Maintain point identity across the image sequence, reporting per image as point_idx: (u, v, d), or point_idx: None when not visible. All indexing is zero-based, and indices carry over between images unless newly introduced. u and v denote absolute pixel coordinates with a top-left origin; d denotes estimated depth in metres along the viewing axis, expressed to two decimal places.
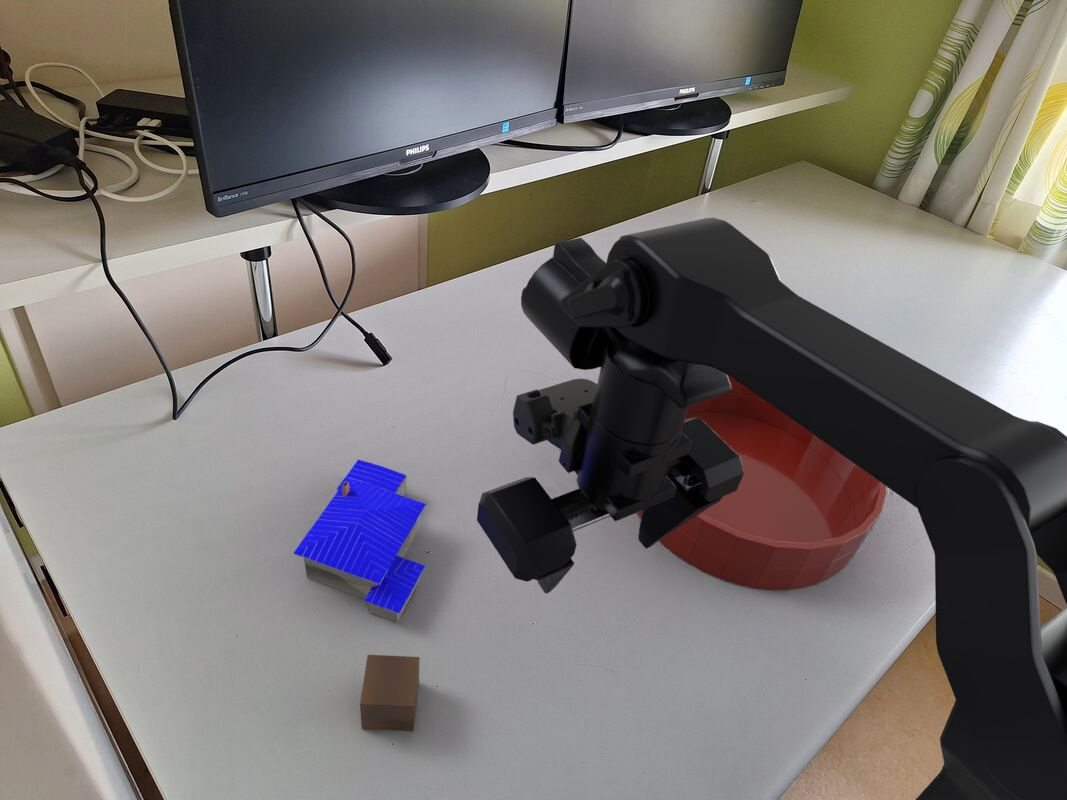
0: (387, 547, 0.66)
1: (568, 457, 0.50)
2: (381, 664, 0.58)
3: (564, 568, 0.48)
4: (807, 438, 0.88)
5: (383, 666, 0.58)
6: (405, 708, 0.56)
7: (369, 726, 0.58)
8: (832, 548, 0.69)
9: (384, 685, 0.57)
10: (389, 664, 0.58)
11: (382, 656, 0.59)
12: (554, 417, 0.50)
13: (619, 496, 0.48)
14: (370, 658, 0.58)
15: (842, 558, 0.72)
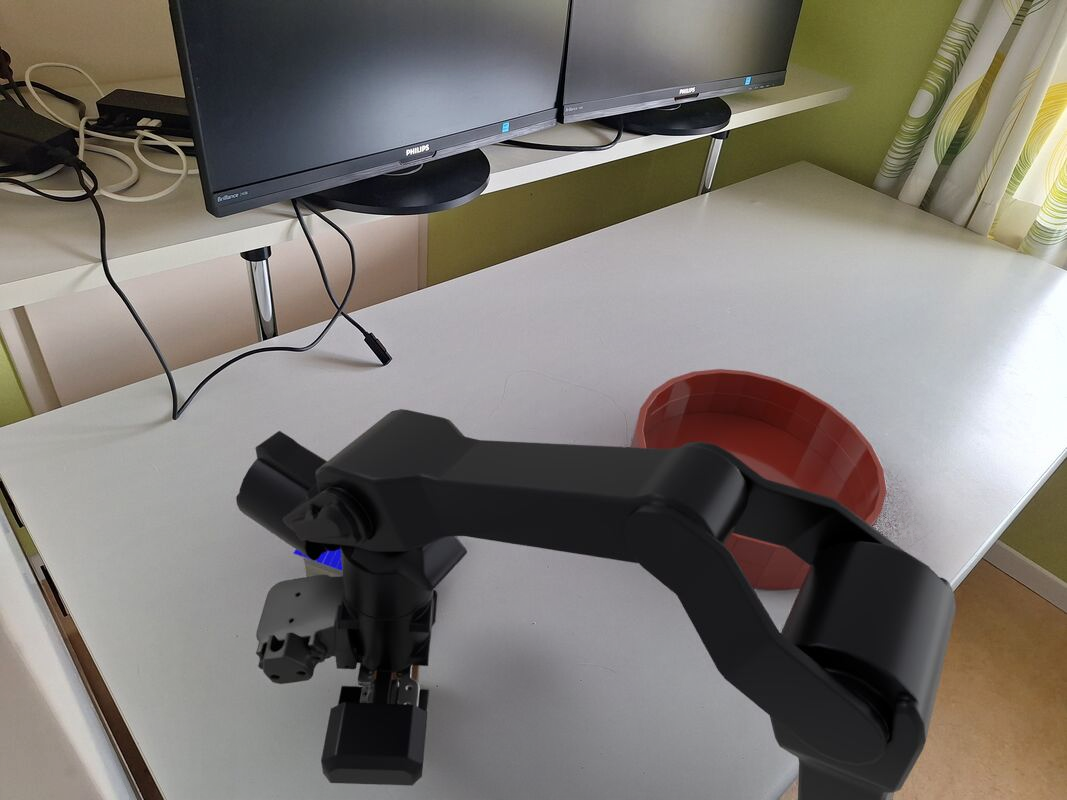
0: None
1: (349, 659, 0.50)
2: None
3: (427, 700, 0.52)
4: (807, 438, 0.88)
5: None
6: None
7: None
8: None
9: None
10: None
11: None
12: (314, 643, 0.48)
13: (418, 647, 0.51)
14: None
15: None
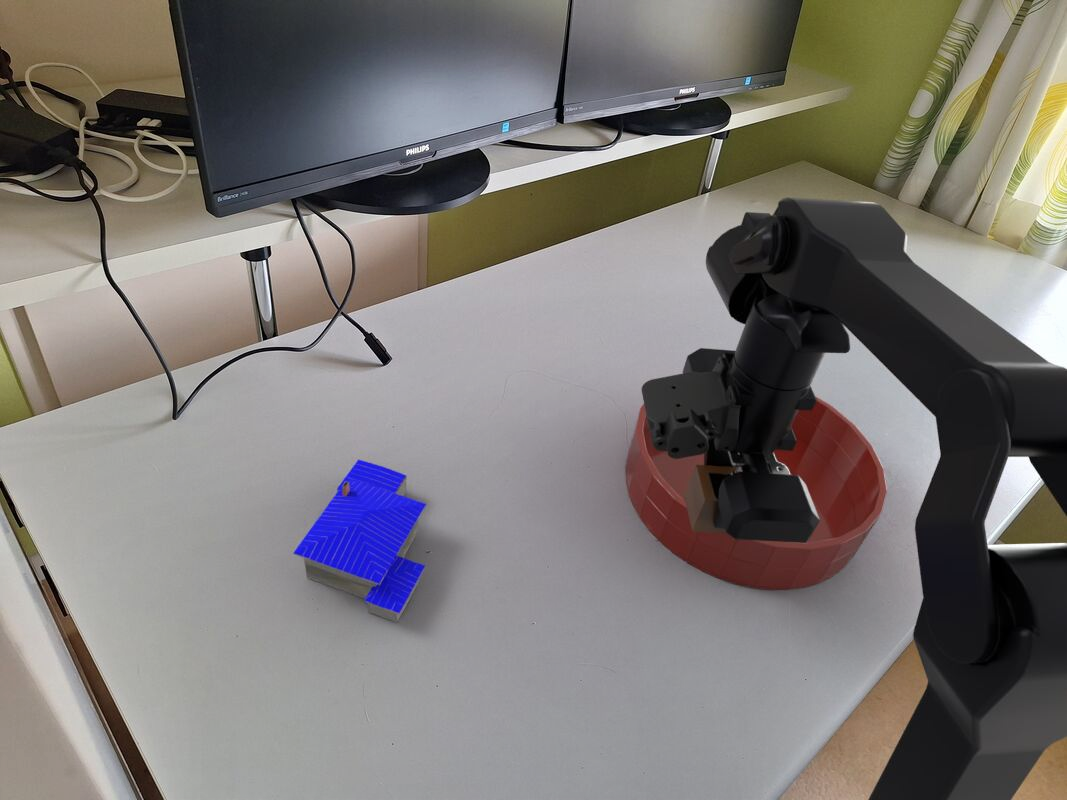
0: (387, 547, 0.66)
1: (733, 439, 0.55)
2: (710, 471, 0.64)
3: None
4: (807, 438, 0.88)
5: None
6: None
7: (700, 528, 0.63)
8: (832, 548, 0.69)
9: None
10: (717, 472, 0.64)
11: (708, 466, 0.64)
12: (711, 419, 0.54)
13: (787, 431, 0.56)
14: (699, 467, 0.64)
15: (842, 558, 0.72)
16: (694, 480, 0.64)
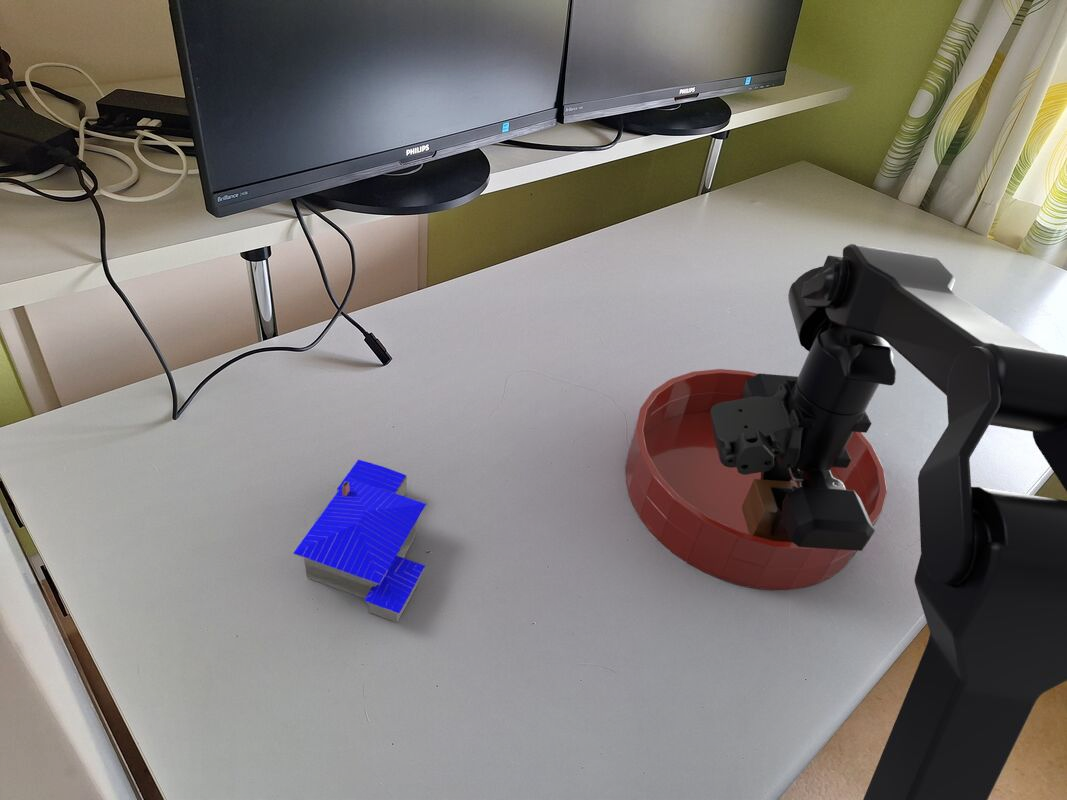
0: (387, 547, 0.66)
1: (794, 457, 0.62)
2: (768, 485, 0.70)
3: None
4: None
5: (770, 487, 0.70)
6: None
7: (759, 536, 0.70)
8: None
9: None
10: (774, 485, 0.70)
11: (766, 480, 0.71)
12: (777, 440, 0.60)
13: (843, 451, 0.63)
14: (757, 481, 0.70)
15: (842, 558, 0.72)
16: (753, 493, 0.70)
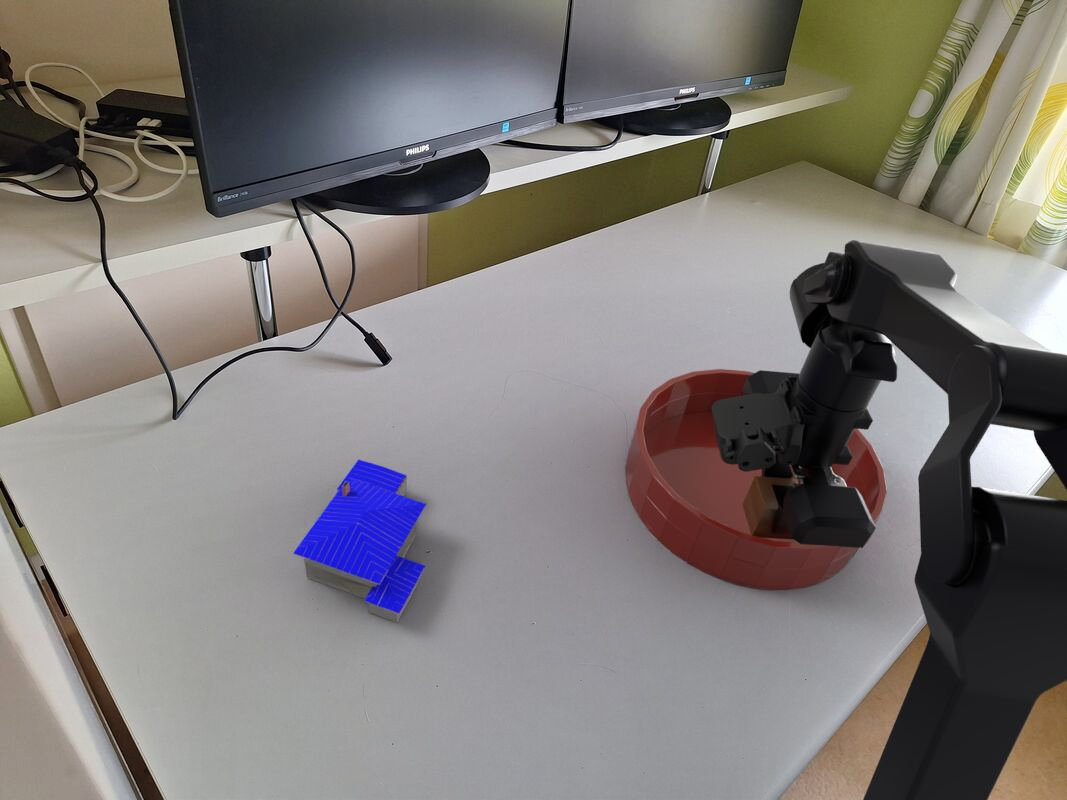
0: (387, 547, 0.66)
1: (796, 454, 0.62)
2: (769, 482, 0.70)
3: None
4: None
5: (771, 484, 0.70)
6: None
7: (760, 534, 0.70)
8: (832, 548, 0.69)
9: None
10: (775, 483, 0.70)
11: (767, 477, 0.70)
12: (778, 436, 0.60)
13: (844, 448, 0.63)
14: (758, 478, 0.70)
15: (842, 558, 0.72)
16: (754, 490, 0.70)
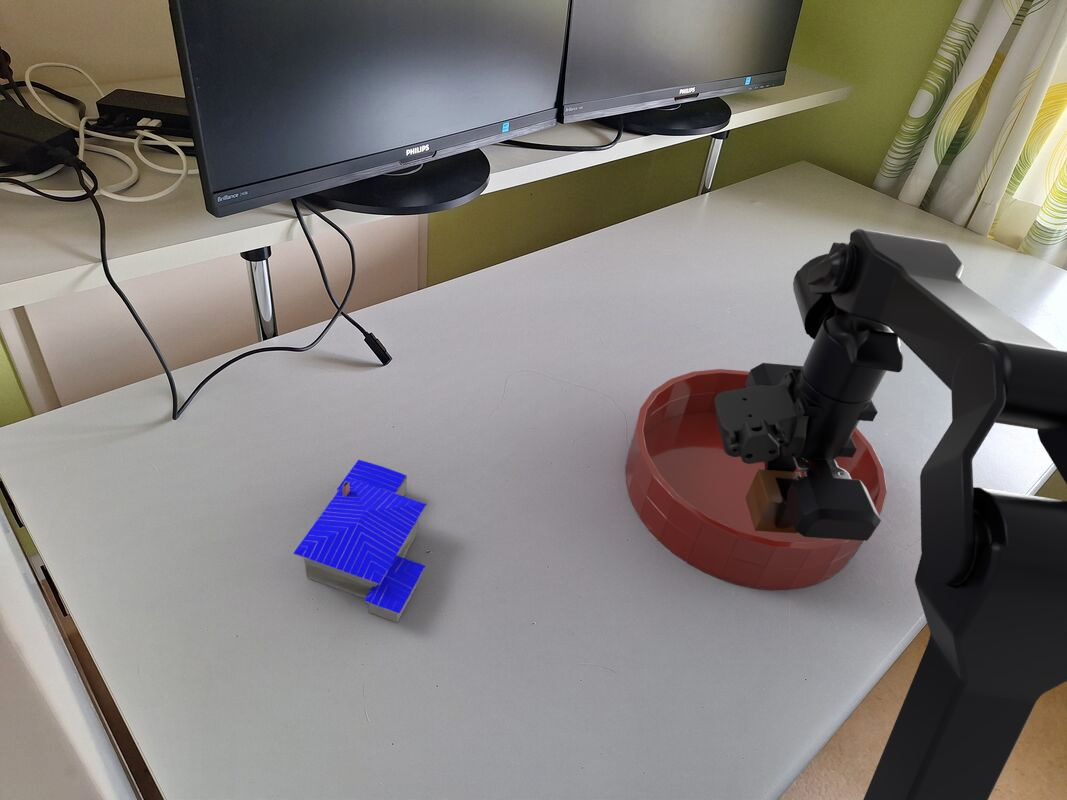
0: (387, 547, 0.66)
1: (800, 446, 0.61)
2: (772, 476, 0.69)
3: None
4: None
5: (774, 477, 0.69)
6: None
7: (763, 527, 0.69)
8: (832, 548, 0.69)
9: None
10: (778, 476, 0.69)
11: (770, 470, 0.70)
12: (782, 428, 0.60)
13: (848, 440, 0.62)
14: (761, 472, 0.70)
15: (842, 558, 0.72)
16: (757, 483, 0.70)
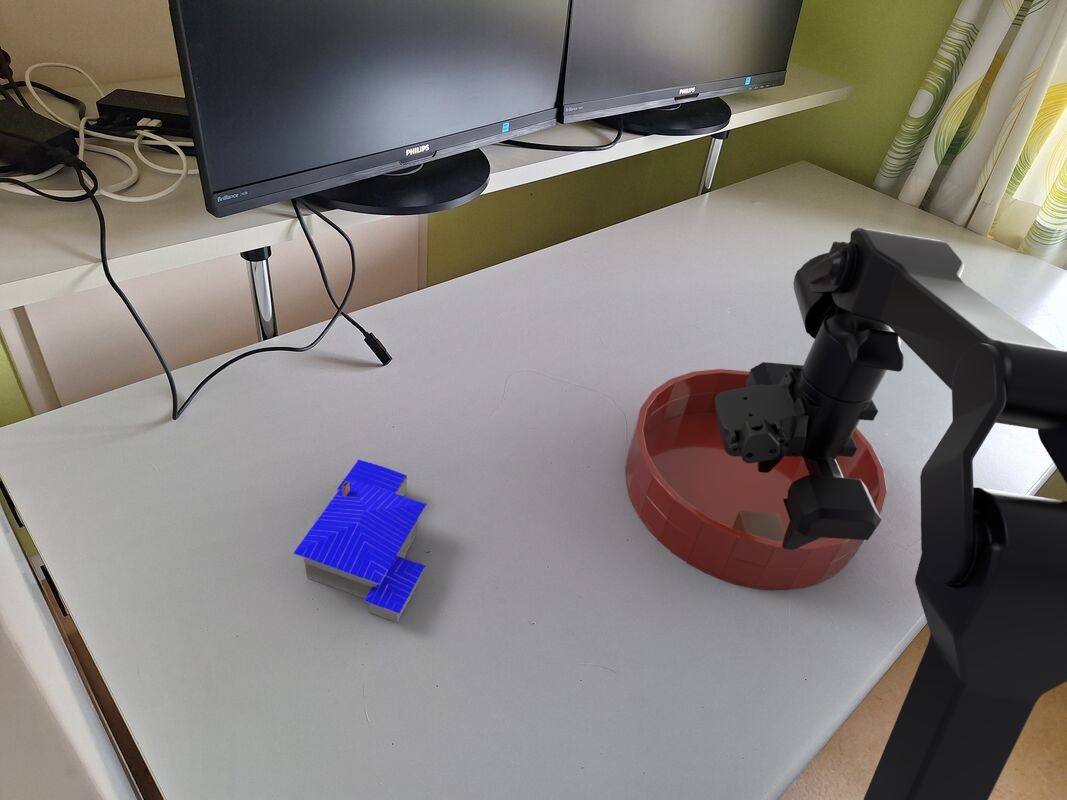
0: (387, 547, 0.66)
1: (800, 445, 0.61)
2: (752, 517, 0.73)
3: None
4: None
5: (754, 519, 0.73)
6: None
7: None
8: (832, 548, 0.69)
9: (761, 531, 0.72)
10: (758, 517, 0.73)
11: (750, 512, 0.74)
12: (782, 428, 0.60)
13: (849, 439, 0.62)
14: (742, 513, 0.73)
15: (842, 558, 0.72)
16: (738, 524, 0.74)
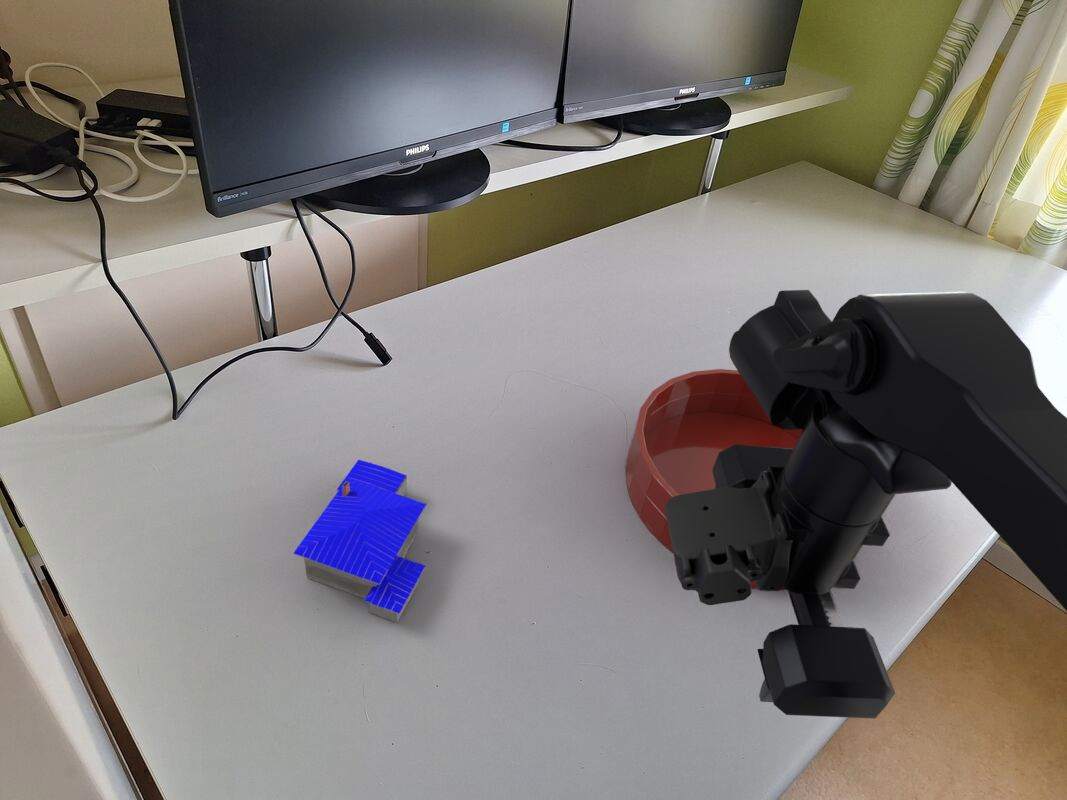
0: (387, 548, 0.66)
1: (781, 578, 0.44)
2: None
3: None
4: None
5: None
6: None
7: None
8: None
9: None
10: None
11: None
12: (755, 557, 0.42)
13: (849, 566, 0.45)
14: None
15: None
16: None
